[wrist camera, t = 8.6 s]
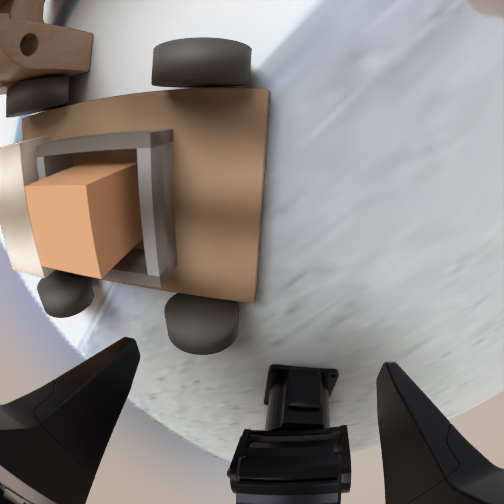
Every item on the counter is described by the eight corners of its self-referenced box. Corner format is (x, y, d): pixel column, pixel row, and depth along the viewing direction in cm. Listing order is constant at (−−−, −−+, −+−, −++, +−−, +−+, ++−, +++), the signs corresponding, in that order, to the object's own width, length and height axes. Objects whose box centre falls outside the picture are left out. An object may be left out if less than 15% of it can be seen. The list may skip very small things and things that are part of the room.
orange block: (148, 233, 19) (101, 279, 14) (92, 227, 19) (41, 265, 14) (144, 160, 17) (85, 185, 11) (85, 162, 17) (24, 186, 12)
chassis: (254, 314, 23) (243, 365, 18) (59, 279, 24) (26, 309, 20) (272, 58, 14) (263, 33, 9) (34, 92, 16) (-13, 98, 11)
